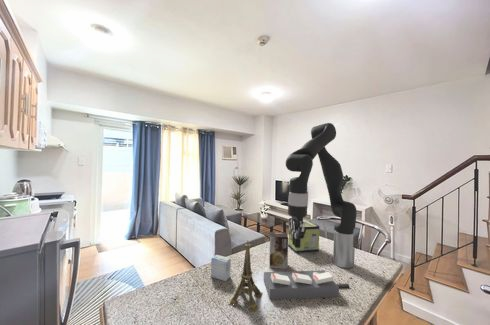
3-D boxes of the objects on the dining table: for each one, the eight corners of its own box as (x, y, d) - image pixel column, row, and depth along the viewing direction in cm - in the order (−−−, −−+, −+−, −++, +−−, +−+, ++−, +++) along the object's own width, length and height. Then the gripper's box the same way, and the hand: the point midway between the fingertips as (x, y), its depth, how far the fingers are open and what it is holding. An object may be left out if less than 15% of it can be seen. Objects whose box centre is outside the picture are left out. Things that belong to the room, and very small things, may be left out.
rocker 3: (328, 275, 86) (328, 271, 86) (333, 280, 82) (332, 276, 82) (313, 279, 85) (312, 275, 85) (317, 284, 82) (316, 280, 82)
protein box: (287, 246, 128) (288, 221, 128) (309, 244, 132) (310, 220, 132) (295, 253, 118) (296, 227, 118) (319, 251, 122) (320, 225, 122)
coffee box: (286, 263, 107) (287, 232, 106) (287, 269, 100) (288, 237, 100) (268, 261, 108) (269, 231, 107) (269, 268, 101) (270, 235, 101)
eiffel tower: (256, 312, 71) (258, 241, 71) (228, 304, 75) (230, 237, 74) (262, 293, 82) (264, 231, 81) (237, 287, 85) (239, 228, 84)
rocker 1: (286, 279, 84) (287, 275, 84) (289, 285, 80) (290, 280, 80) (270, 277, 83) (271, 273, 83) (272, 282, 80) (273, 278, 80)
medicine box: (230, 277, 92) (231, 258, 92) (225, 282, 88) (226, 262, 88) (216, 272, 96) (216, 254, 96) (210, 277, 92) (211, 258, 92)
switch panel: (340, 278, 94) (340, 268, 94) (357, 296, 82) (357, 284, 82) (263, 281, 90) (263, 270, 90) (269, 299, 78) (270, 287, 78)
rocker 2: (307, 279, 85) (308, 275, 85) (311, 284, 81) (312, 280, 81) (291, 276, 84) (292, 272, 84) (294, 281, 81) (295, 277, 81)
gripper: (314, 207, 76) (312, 253, 76) (300, 200, 90) (298, 239, 90) (294, 207, 75) (293, 254, 75) (283, 200, 89) (282, 239, 89)
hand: (296, 245), depth 82 cm, fingers closed
